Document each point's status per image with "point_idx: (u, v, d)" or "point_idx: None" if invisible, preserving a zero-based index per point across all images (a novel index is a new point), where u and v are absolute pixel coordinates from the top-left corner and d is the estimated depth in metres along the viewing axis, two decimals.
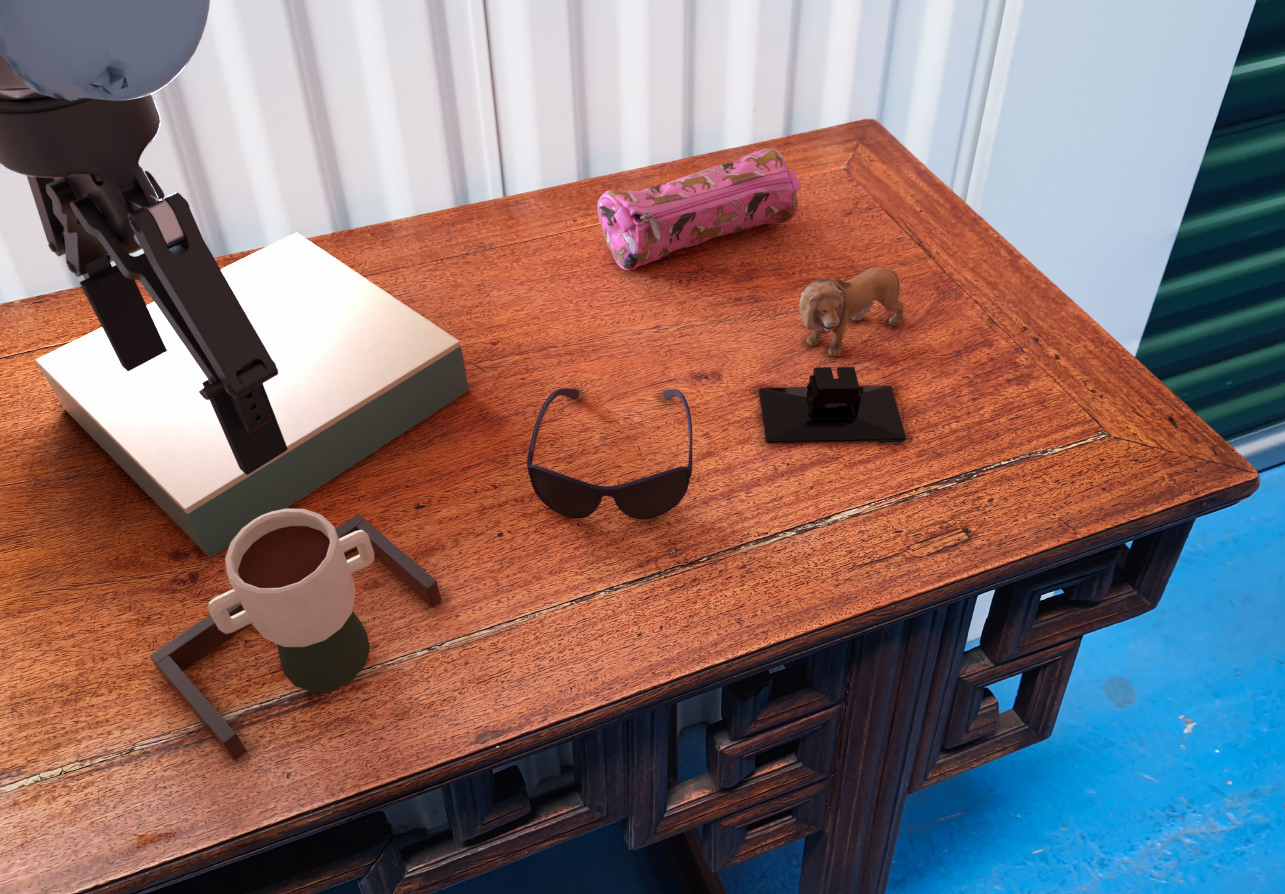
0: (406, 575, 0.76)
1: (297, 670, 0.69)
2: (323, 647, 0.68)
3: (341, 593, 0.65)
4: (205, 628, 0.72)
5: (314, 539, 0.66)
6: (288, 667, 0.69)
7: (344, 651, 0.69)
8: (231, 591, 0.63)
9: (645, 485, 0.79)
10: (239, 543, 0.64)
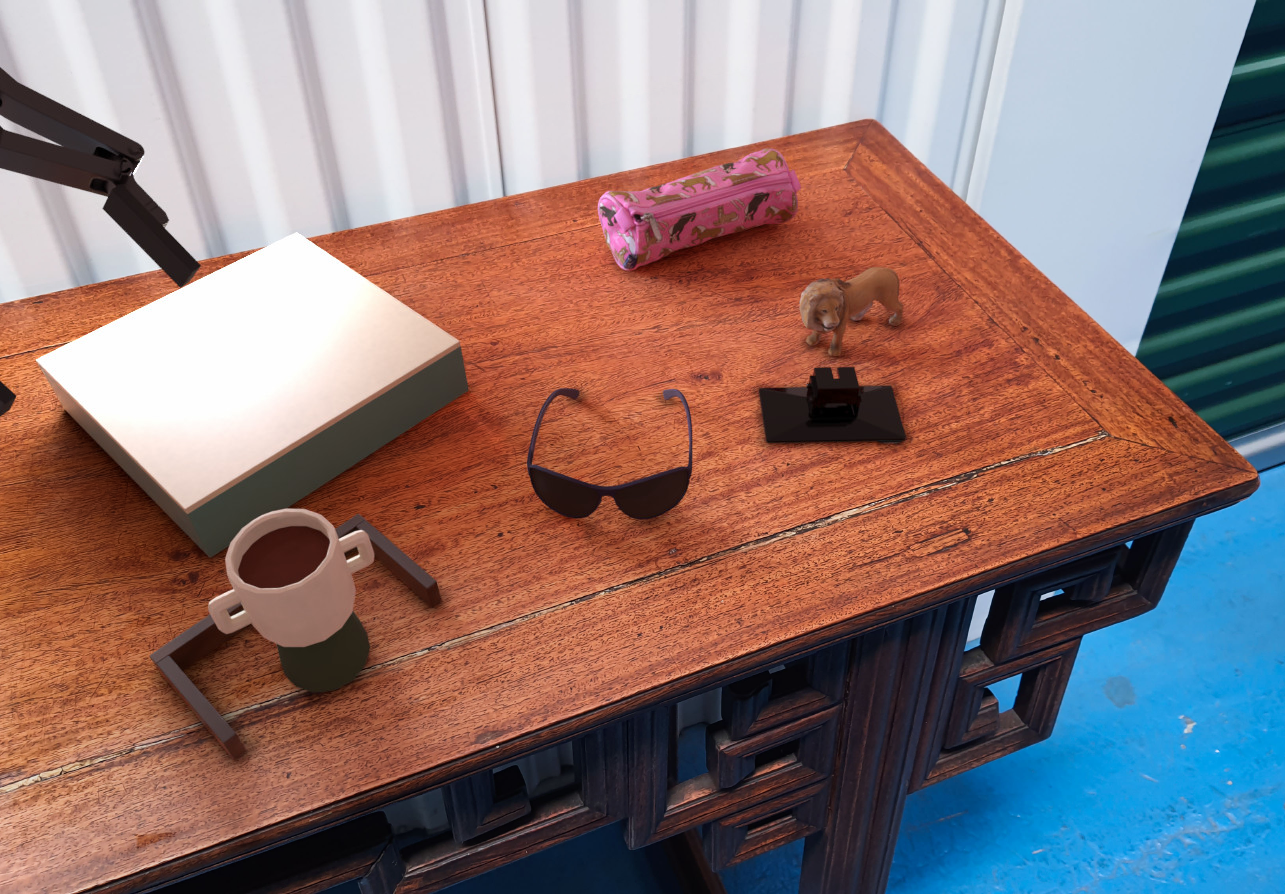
0: (406, 575, 0.76)
1: (297, 670, 0.69)
2: (323, 647, 0.68)
3: (341, 593, 0.65)
4: (205, 628, 0.72)
5: (314, 539, 0.66)
6: (288, 667, 0.69)
7: (344, 651, 0.69)
8: (231, 591, 0.63)
9: (645, 485, 0.79)
10: (240, 543, 0.64)
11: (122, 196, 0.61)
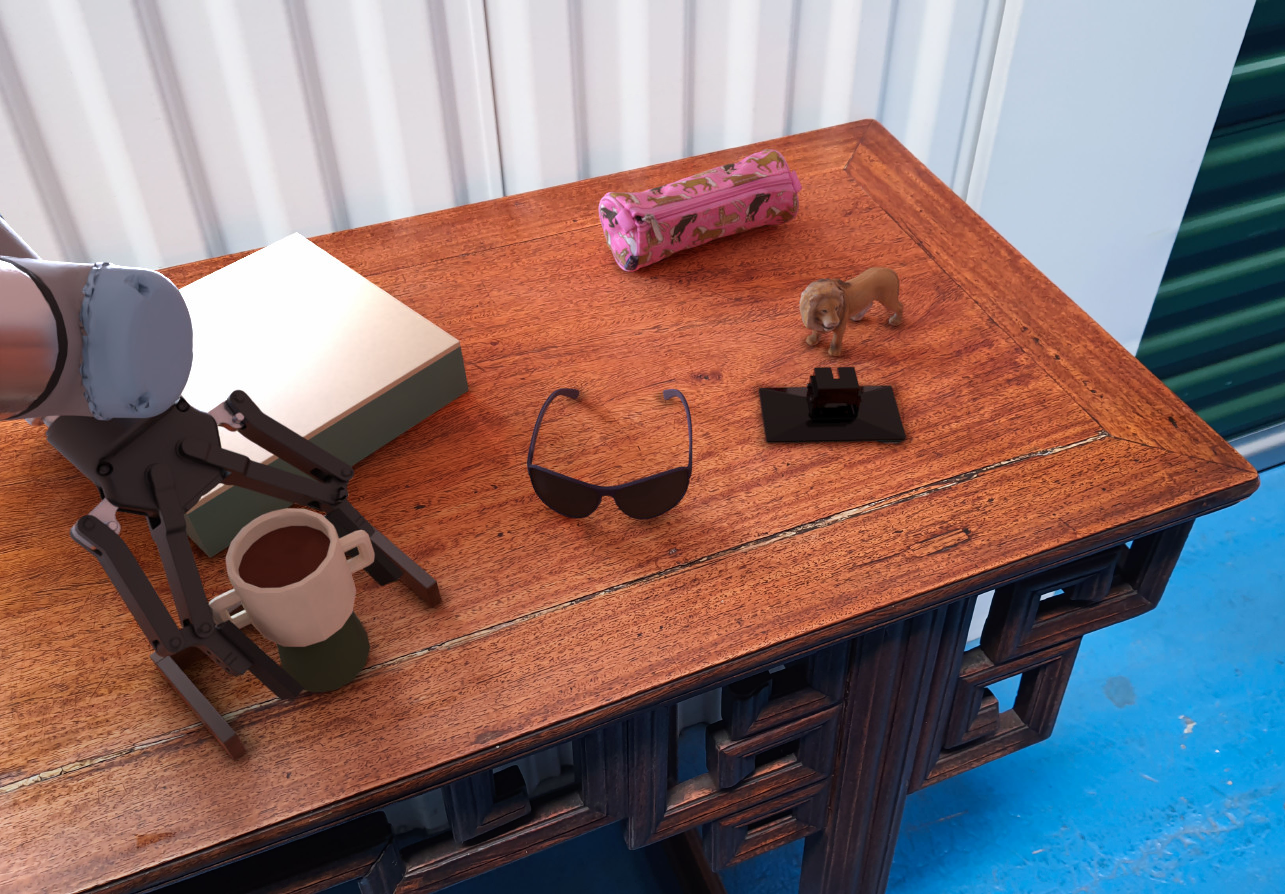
0: (406, 575, 0.76)
1: (297, 670, 0.69)
2: (323, 647, 0.68)
3: (341, 593, 0.65)
4: None
5: (314, 539, 0.66)
6: (288, 667, 0.69)
7: (344, 651, 0.69)
8: (231, 591, 0.63)
9: (645, 485, 0.79)
10: (240, 542, 0.64)
11: (339, 520, 0.68)
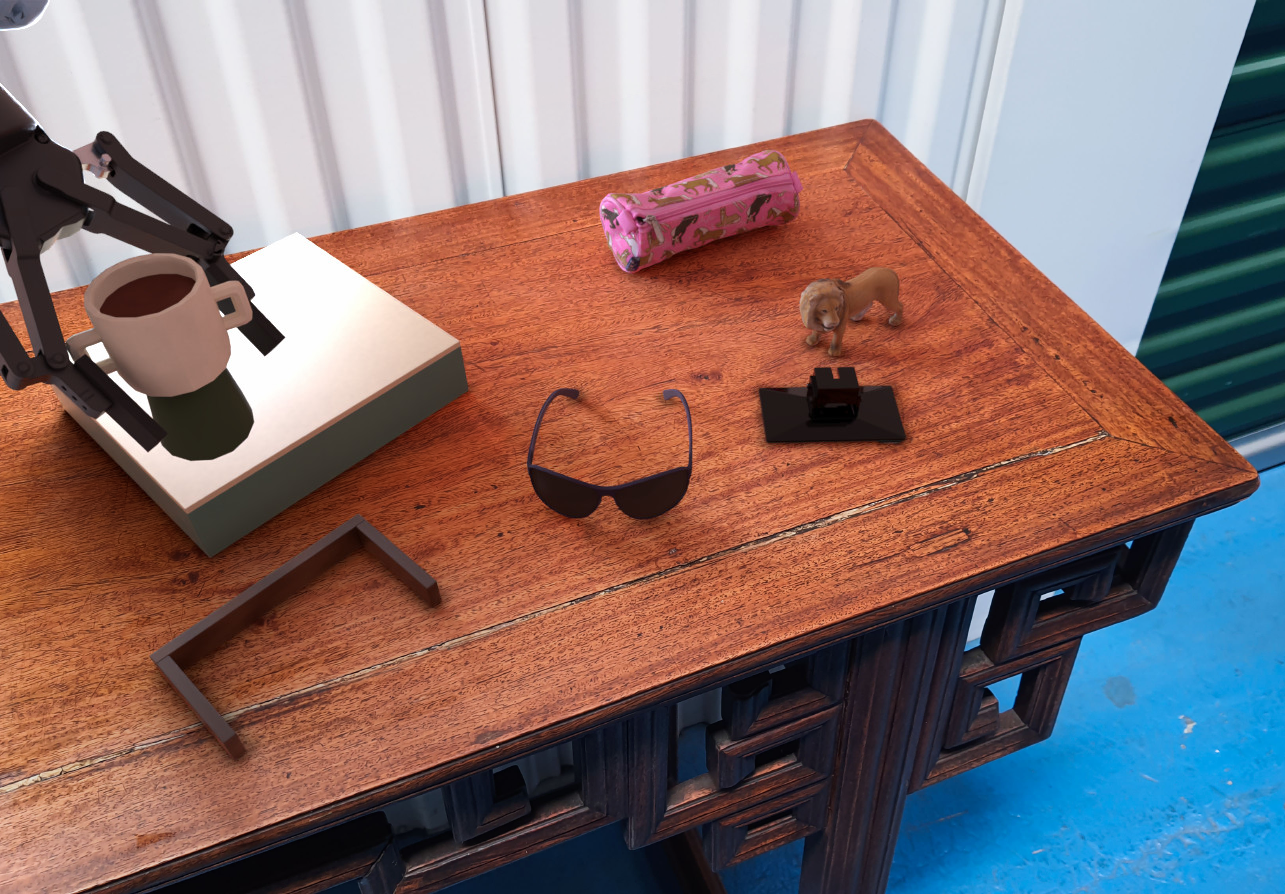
0: (406, 575, 0.76)
1: (171, 433, 0.66)
2: (196, 405, 0.65)
3: (210, 339, 0.62)
4: (205, 628, 0.72)
5: (183, 284, 0.63)
6: None
7: (221, 415, 0.66)
8: (91, 329, 0.60)
9: (645, 485, 0.79)
10: (102, 282, 0.61)
11: (215, 275, 0.65)
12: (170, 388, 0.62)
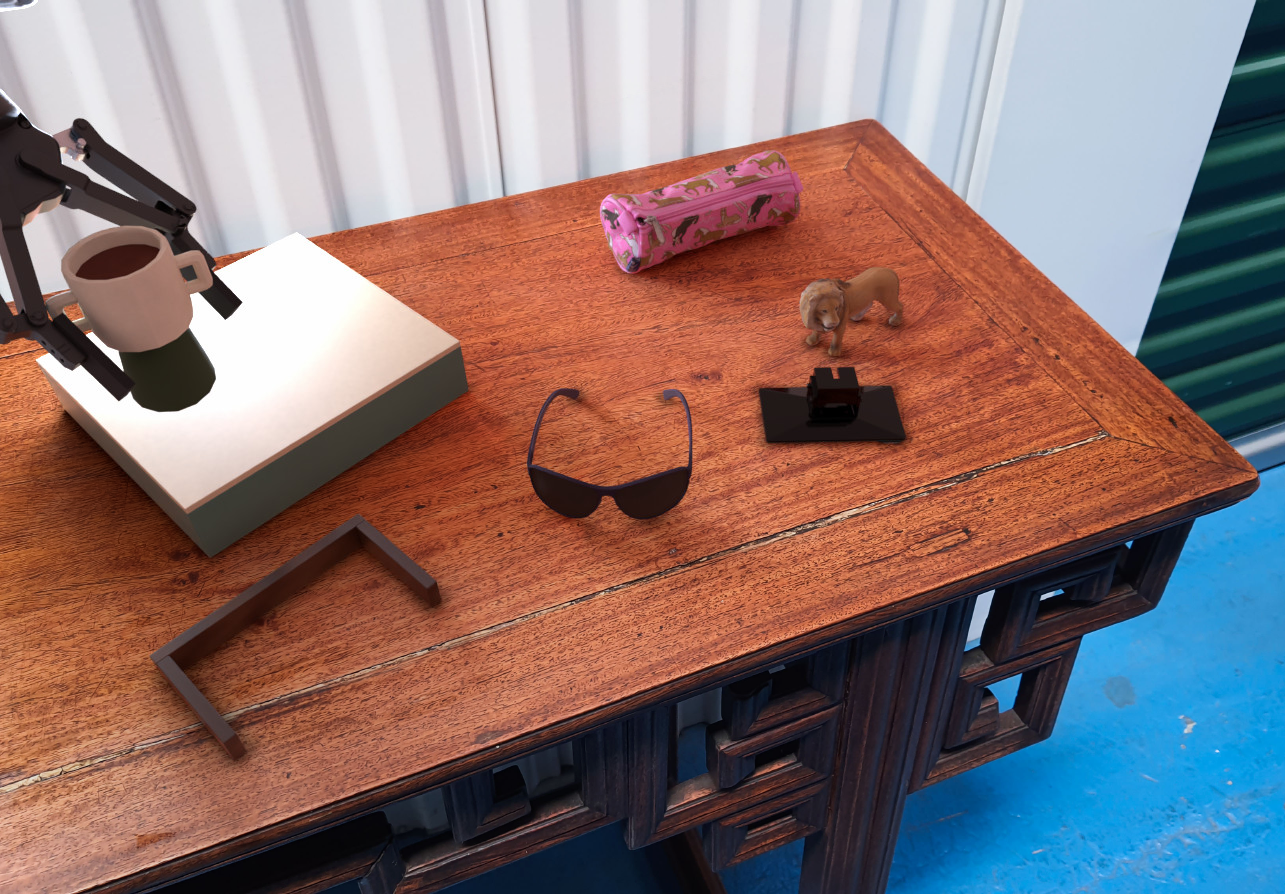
0: (406, 575, 0.76)
1: (140, 386, 0.74)
2: (162, 361, 0.73)
3: (173, 301, 0.70)
4: (205, 628, 0.72)
5: (150, 253, 0.71)
6: None
7: (185, 370, 0.74)
8: (68, 291, 0.69)
9: (645, 485, 0.79)
10: (78, 250, 0.69)
11: (179, 246, 0.74)
12: (138, 344, 0.70)
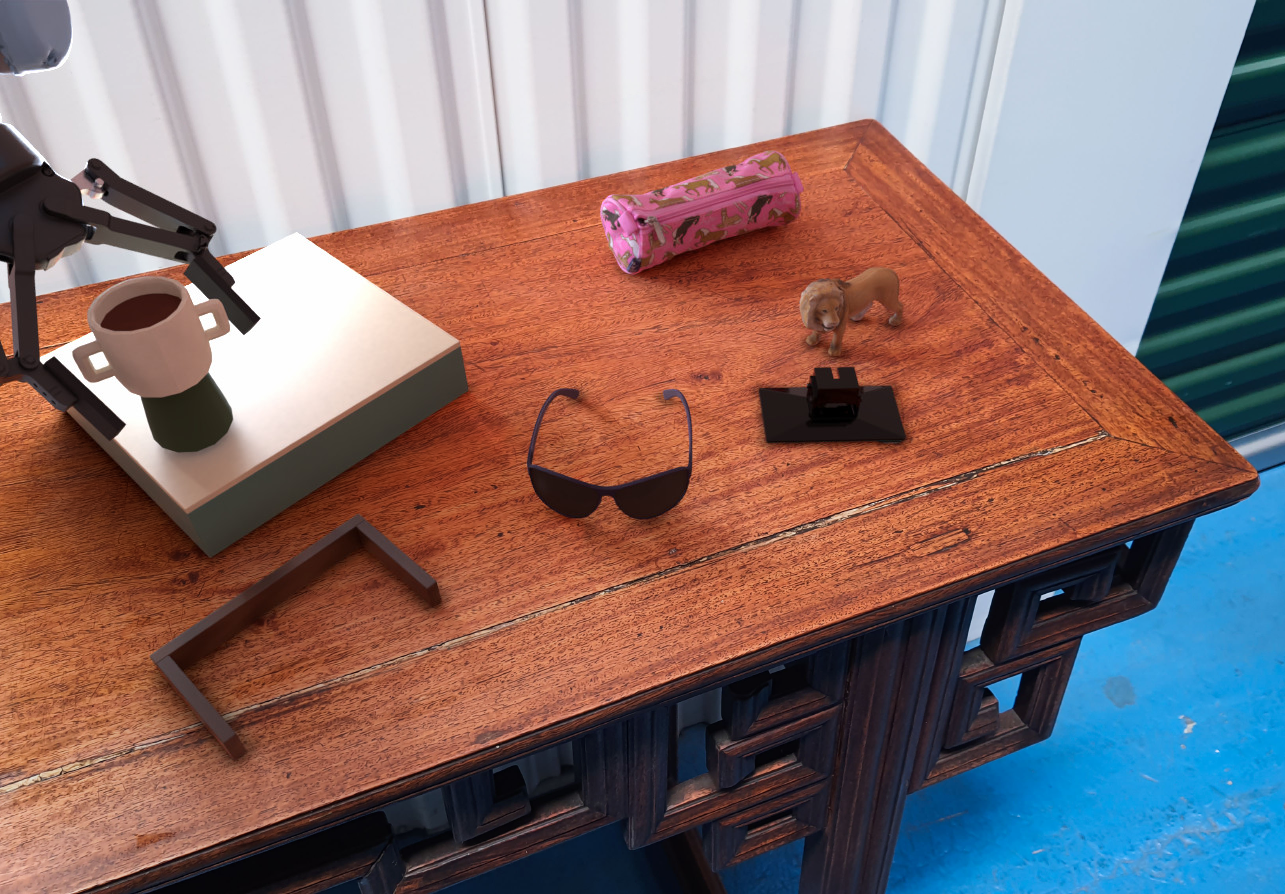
0: (406, 575, 0.76)
1: (161, 428, 0.77)
2: (182, 404, 0.76)
3: (194, 348, 0.74)
4: (205, 628, 0.72)
5: (171, 302, 0.74)
6: (154, 427, 0.77)
7: (204, 413, 0.77)
8: (93, 340, 0.72)
9: (645, 485, 0.79)
10: (102, 301, 0.73)
11: (200, 265, 0.77)
12: (160, 390, 0.73)
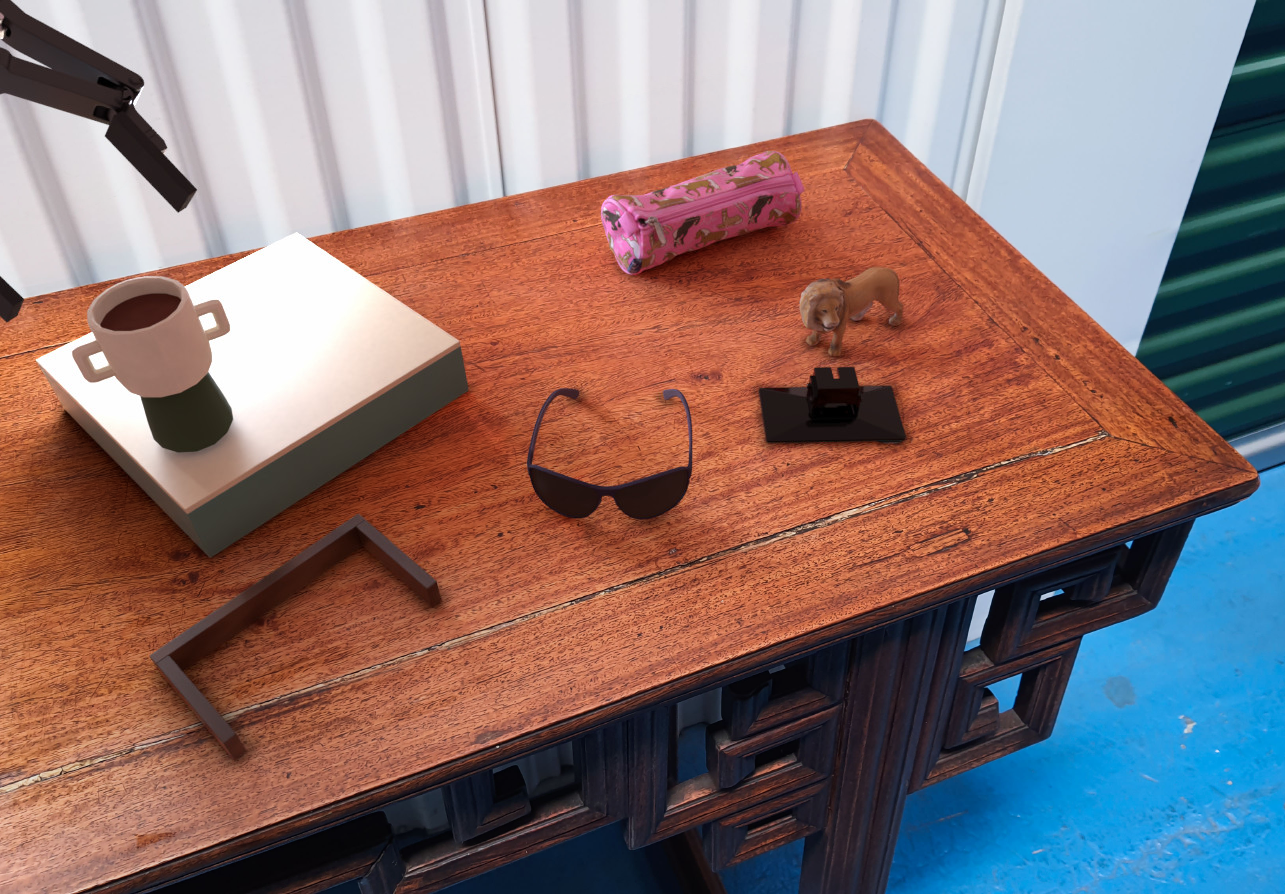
0: (406, 575, 0.76)
1: (161, 428, 0.77)
2: (182, 404, 0.76)
3: (194, 348, 0.74)
4: (205, 628, 0.72)
5: (171, 302, 0.74)
6: (154, 427, 0.77)
7: (204, 413, 0.77)
8: (93, 340, 0.72)
9: (645, 485, 0.79)
10: (102, 301, 0.73)
11: (123, 122, 0.65)
12: (160, 390, 0.73)
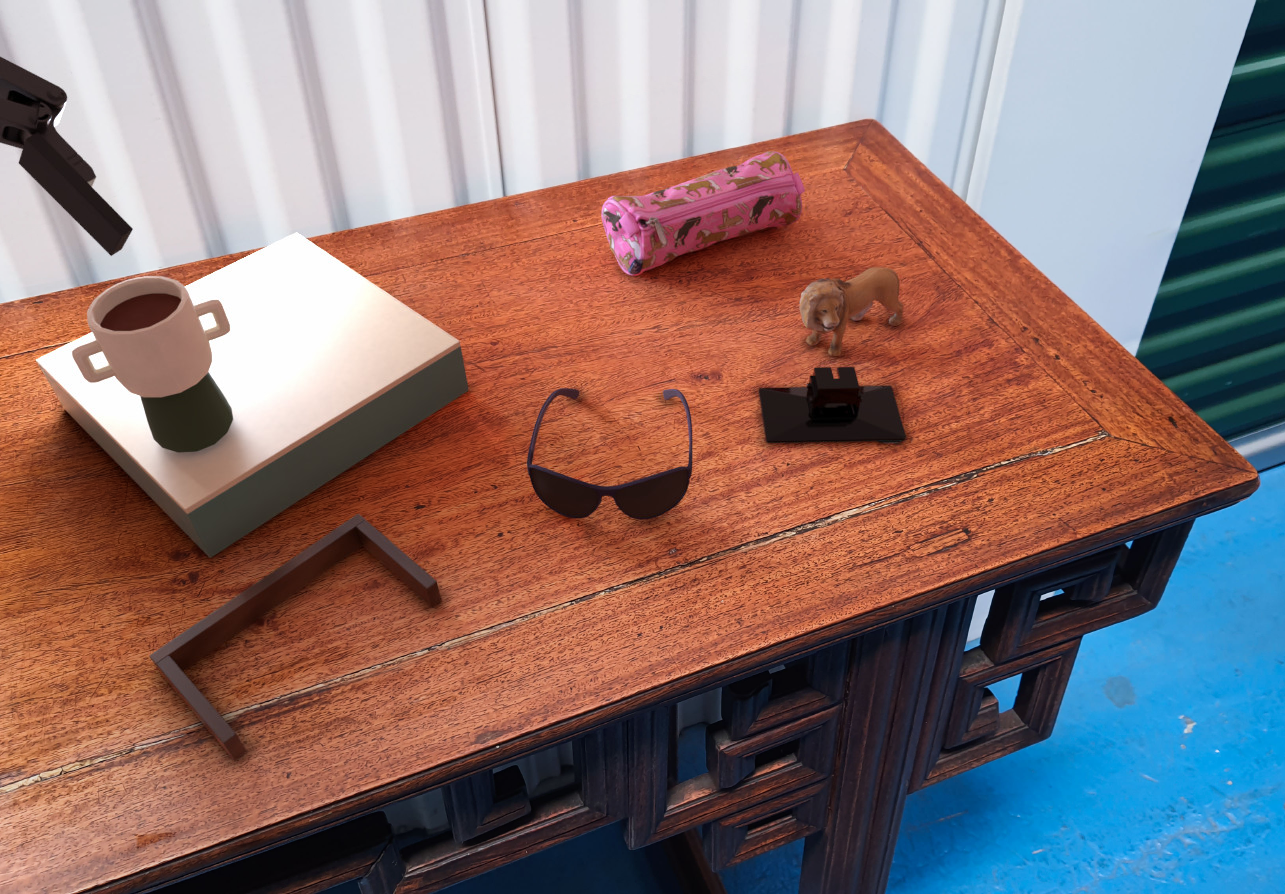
0: (406, 575, 0.76)
1: (161, 428, 0.77)
2: (182, 404, 0.76)
3: (194, 348, 0.74)
4: (205, 628, 0.72)
5: (171, 302, 0.74)
6: (154, 427, 0.77)
7: (204, 413, 0.77)
8: (93, 340, 0.72)
9: (645, 485, 0.79)
10: (102, 301, 0.73)
11: (39, 147, 0.52)
12: (160, 390, 0.73)
